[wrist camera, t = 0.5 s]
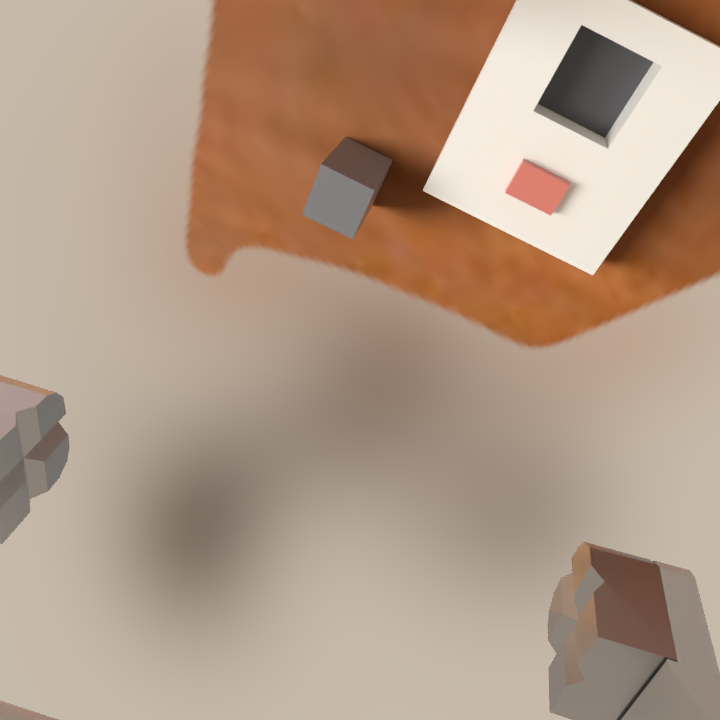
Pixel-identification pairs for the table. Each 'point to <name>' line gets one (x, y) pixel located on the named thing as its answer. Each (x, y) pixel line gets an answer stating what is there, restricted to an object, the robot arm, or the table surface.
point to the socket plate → (576, 123)
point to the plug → (346, 187)
